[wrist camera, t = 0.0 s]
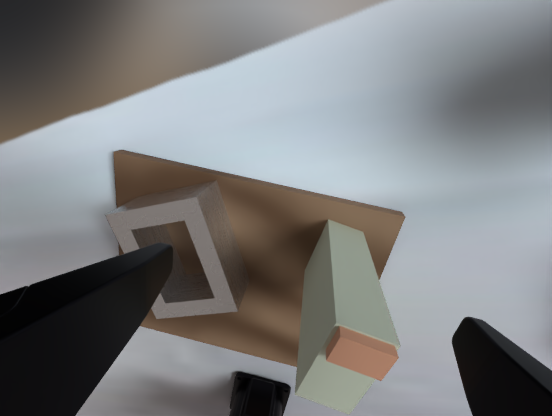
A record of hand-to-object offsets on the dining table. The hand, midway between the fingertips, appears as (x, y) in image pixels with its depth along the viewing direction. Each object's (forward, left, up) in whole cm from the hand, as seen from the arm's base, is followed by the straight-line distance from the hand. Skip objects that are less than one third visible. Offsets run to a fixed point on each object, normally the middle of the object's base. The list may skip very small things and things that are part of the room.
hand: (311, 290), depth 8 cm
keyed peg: (-6, -3, -14) cm, 15 cm away
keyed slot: (-8, +9, -14) cm, 18 cm away
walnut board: (-11, +4, -15) cm, 19 cm away
